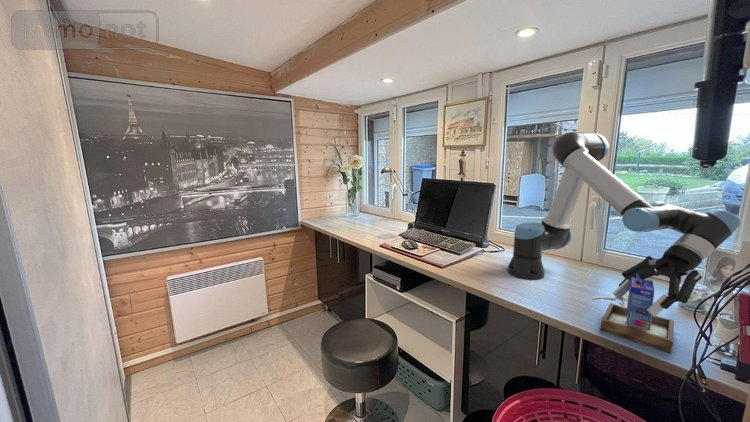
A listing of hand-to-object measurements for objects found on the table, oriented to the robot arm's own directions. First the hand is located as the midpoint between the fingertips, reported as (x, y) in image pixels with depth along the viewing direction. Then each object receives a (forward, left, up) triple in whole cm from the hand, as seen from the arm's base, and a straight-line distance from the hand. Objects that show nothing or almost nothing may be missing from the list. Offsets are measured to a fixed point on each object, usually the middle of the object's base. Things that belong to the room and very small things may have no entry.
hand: (632, 304), depth 88 cm
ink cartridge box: (+2, +2, -6) cm, 6 cm away
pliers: (-5, +24, -9) cm, 26 cm away
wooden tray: (+2, +2, -9) cm, 9 cm away
